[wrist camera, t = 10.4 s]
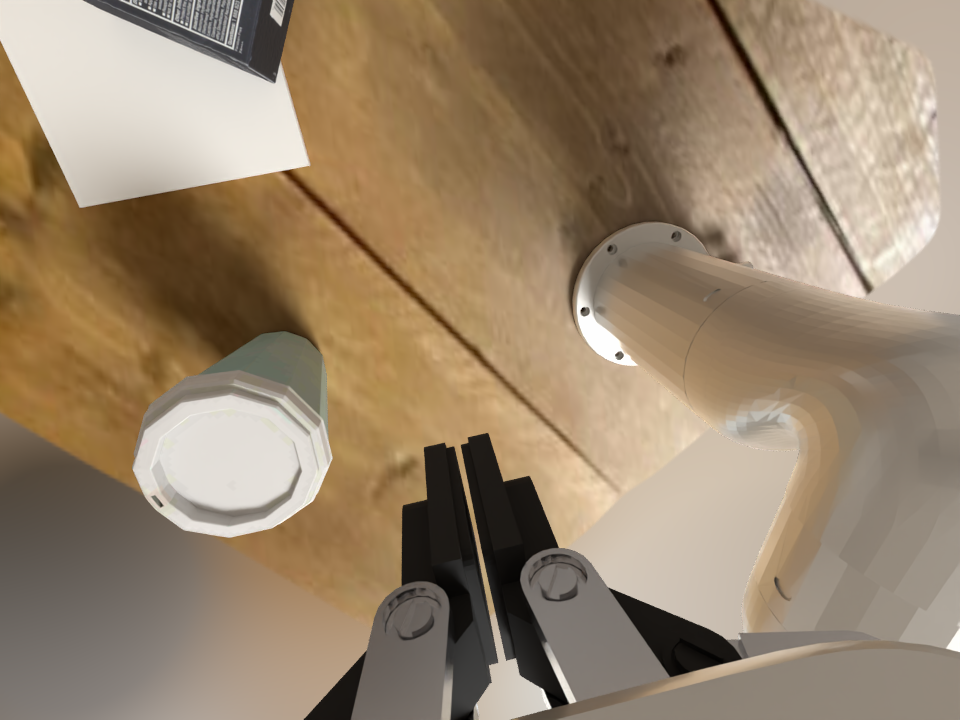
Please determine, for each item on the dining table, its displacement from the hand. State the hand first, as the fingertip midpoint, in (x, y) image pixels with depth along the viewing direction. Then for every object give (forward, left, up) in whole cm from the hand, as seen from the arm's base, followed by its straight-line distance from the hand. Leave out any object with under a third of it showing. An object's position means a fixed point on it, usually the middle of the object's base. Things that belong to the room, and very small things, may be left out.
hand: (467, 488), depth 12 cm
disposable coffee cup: (+13, +6, -29) cm, 33 cm away
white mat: (+14, -17, -29) cm, 37 cm away
